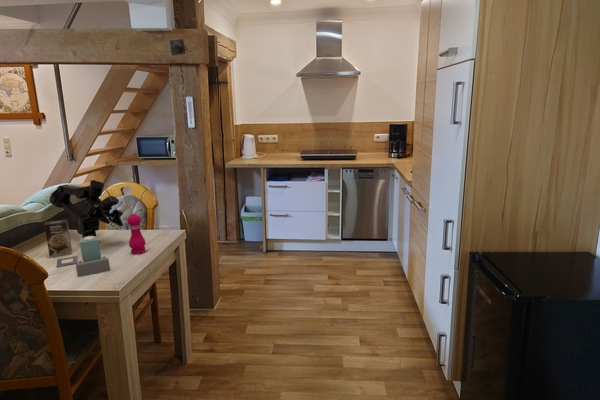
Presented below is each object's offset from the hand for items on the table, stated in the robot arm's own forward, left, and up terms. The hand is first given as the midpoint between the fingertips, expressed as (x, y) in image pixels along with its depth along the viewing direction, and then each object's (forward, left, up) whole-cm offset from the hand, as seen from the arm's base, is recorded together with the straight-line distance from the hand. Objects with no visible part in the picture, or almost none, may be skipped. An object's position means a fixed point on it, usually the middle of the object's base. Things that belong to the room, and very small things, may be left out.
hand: (116, 224), depth 186 cm
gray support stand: (+8, -21, -13) cm, 26 cm away
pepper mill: (+11, +1, -13) cm, 17 cm away
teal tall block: (+4, -18, -13) cm, 23 cm away
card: (-11, -19, -13) cm, 26 cm away
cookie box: (-23, -13, -13) cm, 30 cm away
